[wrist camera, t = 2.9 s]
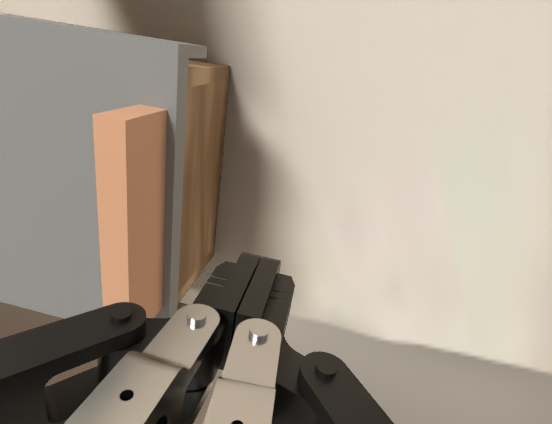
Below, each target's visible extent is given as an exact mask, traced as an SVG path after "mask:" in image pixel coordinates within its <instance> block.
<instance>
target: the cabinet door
mask: <svg viewBox="0 0 552 424" xmlns="http://www.w3.org/2000/svg"><path fill="white" fill-rule="evenodd" d="M189 58H207V46H202V45H196V44H190V43H184V42H178V41H172V40H165V39H159V38H153V37H147V36H141V35H135V34H128V33H122V32H116V31H110V30H104V29H98V28H92V27H85V26H79V25H73V24H67V23H61V22H55V21H48V20H42V19H36V18H30V17H24V16H18V15H11V14H5V13H0V301H1V302H4V303H8V304H12V305H16V306H20V307H23V308H27V309H30V310H34V311H38V312H42V313H45V314H49V315H53V316H56V317H60V318H64V319H66V318H69V317H72V316H75V315H79V314H82V313H85V312H88V311H91V310H95V309H98V308H101V307H104V306H108V305H111V304H114V303H119V302H131V303H135V304H138V305H140V306H141V307H143V308H144V309H145V311H146V318H171V317H172V316H173V315H174V314H175V313H176V311H177V310H179V309H180V308H182V307H184V306H186V305H187V304H183V303H179V304H178V282H179V260H180V238H181V216H182V195H183V173H184V151H185V129H186V107H187V85H188V63H189ZM177 304H178V305H177Z"/></svg>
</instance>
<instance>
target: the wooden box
mask: <svg viewBox="0 0 552 424" xmlns="http://www.w3.org/2000/svg"><path fill="white" fill-rule="evenodd" d="M229 76H230V66H226V65H220V64H214V63H208V62H202V61H196V60H191V59H189V63H188V85H187V107H186V129H185V151H184V173H183V195H182V216H181V238H180V260H179V282H178V304H179V302H180V301H181V299H182V298H183V297H184V295H185V294H186V292H187V291H188V290H189V288H190V287H191V286H192V284H193V283H194V281H195V280H196V279H197V277H198V276H199V274H200V273H201V272H202V270H203V269H204V267H205V266H206V265H207V263H208V262H209V261H210V259H211V258H212V256H213V255H214V245H215V234H216V223H217V212H218V200H219V189H220V178H221V166H222V155H223V144H224V133H225V121H226V110H227V99H228V87H229ZM178 304H177V305H178Z"/></svg>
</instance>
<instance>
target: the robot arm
mask: <svg viewBox="0 0 552 424" xmlns="http://www.w3.org/2000/svg"><path fill="white" fill-rule="evenodd" d="M280 265H281V261H280V260H276V259H271V258H267V257H262V258H261V256H258V255H253V254H249V253H245V252H242V254H241V255H240V257H239V259H238V261H237V262H236V264H235V263H231V262H224V263H223V264H221V265H219V266H217V267H216V268H215V270H214V272H213V273H212V275H211V277H210V278H209V279H208V281H207V283H206V284H205V285H204V287H203V288H202V290H201V292H200V293H199V295H198V296H197V298H196V299H195V301H194V302H193V304H190V305H186V306H184V307H182V308H180V309H179V310H177V311H176V313H175V314H174V315H173V316H172V317H171V318H146V311H145V309H144V308H143V307H141V306H140V305H138V304H135V303H131V302H119V303H114V304H111V305H108V306H104V307H101V308H98V309H95V310H91V311H88V312H85V313H82V314H79V315H75V316H72V317H69V318H66V319H63V320H59V321H56V322H53V323H50V324H47V325H43V326H40V327H37V328H34V329H31V330H27V331H24V332H21V333H18V334H15V335H11V336H8V337H5V338H2V339H0V424H193V423H194V421H195V419H196V417H197V415H198V413H199V412H200V410H201V408H202V406H203V404H204V402H205V400H206V398H207V396H208V394H209V392H210V391H211V388H212V382H213V379H214V377H215V375H216V373H217V370H218V369H222V370H223V373H222V376H221V377H218V380H217V382H216V385H215V388H214V392H213V395H212V398H211V401H210V404H209V408H208V410H207V414H206V417H205V420H204V423H203V424H394V423H393V422H392V421H391V420H390V418H389V417H388V416H387V415H386V413H385V412H384V411H383V410H382V409H381V407H380V406H379V405H378V404H377V402H376V401H375V400H374V399H373V398H372V396H371V395H370V394H369V393H368V392H367V390H366V389H365V388H364V387H363V385H362V384H361V383H360V382H359V380H358V379H357V378H356V377H355V376H354V374H353V373H352V372H351V371H350V369H349V368H348V367H347V366H346V365H345V363H344V362H343V361H342V360H340V359H339V358H338V357H336V356H334V355H332V354H329V353H325V352H312V353H309V354H308V355H306V356H303V355H301V354H299V353H298V352H296V351H295V350H293V349H292V348H291V347H290V346H289V345H288V343H287V342H286V340H285V337H284V333H285V329H286V325H287V321H288V316H289V312H290V307H291V302H292V297H293V292H294V287H295V285H294V282H293V280H292V277H291V276H287V275H282V274H279V270H280ZM97 358H98V366H97V367H94V368H92V369H89V370H87V371H84V372H82V373H79V374H77V375H75V376H72V377H70V378H67V379H65V380H63V381H60V382H57V383H55V384H53V385H50V386H46V387H45V385H46V383H47V382H48V380H50V379H51V378H52V377H53V376H55V375H57V374H59V373H62V372H64V371H67V370H70V369H72V368H75V367H77V366H80V365H82V364H85V363H87V362H90V361H92V360H95V359H97Z"/></svg>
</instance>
